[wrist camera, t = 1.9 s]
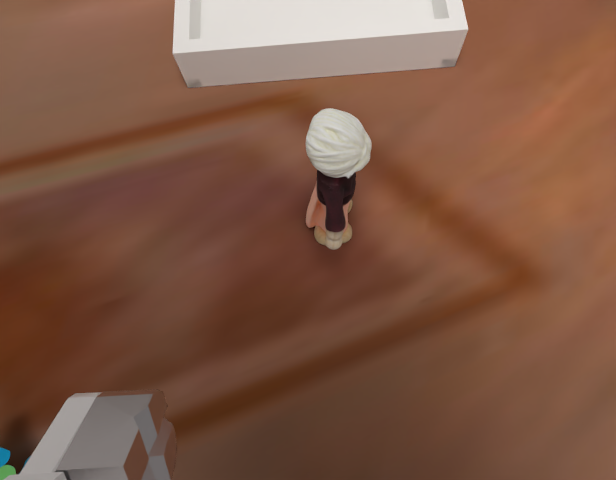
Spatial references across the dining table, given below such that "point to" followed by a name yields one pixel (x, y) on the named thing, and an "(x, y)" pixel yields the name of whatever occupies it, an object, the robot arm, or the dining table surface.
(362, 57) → the tray
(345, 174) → the grandmother figurine
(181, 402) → the dining table surface
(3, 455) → the gear
